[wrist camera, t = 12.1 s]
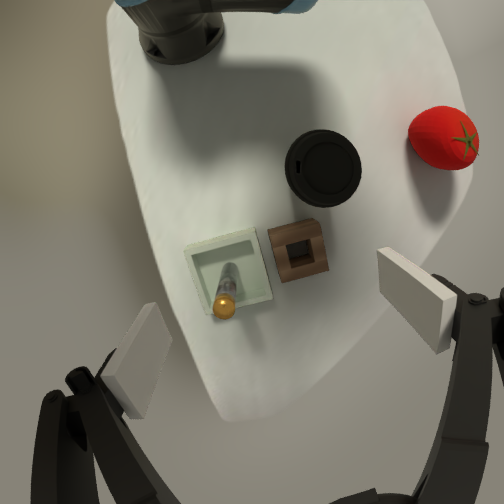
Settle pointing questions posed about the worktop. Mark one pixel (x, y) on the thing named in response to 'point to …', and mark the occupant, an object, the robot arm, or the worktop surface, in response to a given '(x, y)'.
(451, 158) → the tomato
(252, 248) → the tray
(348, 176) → the coffee cup
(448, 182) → the worktop surface
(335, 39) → the worktop surface
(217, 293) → the pin
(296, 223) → the socket block
